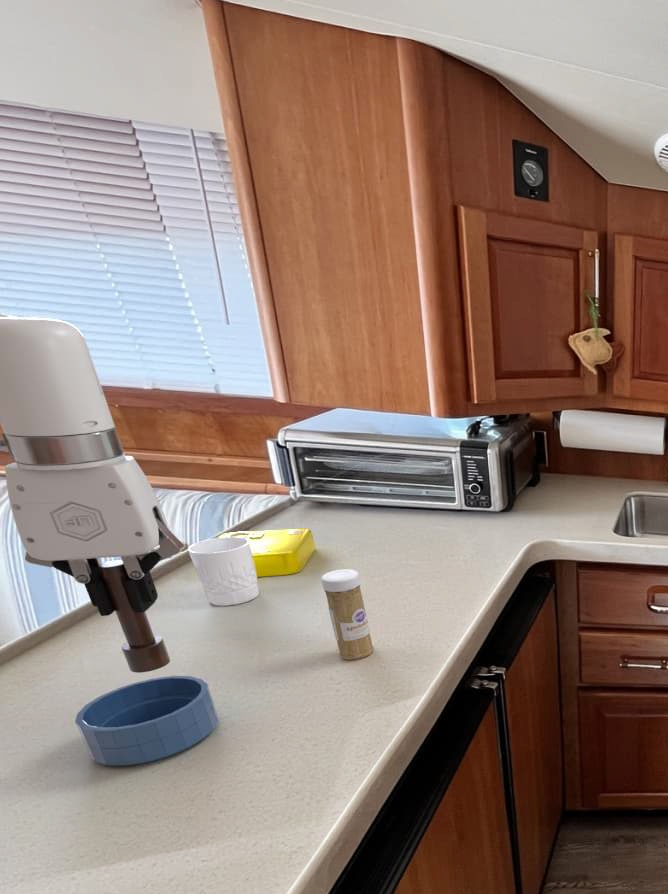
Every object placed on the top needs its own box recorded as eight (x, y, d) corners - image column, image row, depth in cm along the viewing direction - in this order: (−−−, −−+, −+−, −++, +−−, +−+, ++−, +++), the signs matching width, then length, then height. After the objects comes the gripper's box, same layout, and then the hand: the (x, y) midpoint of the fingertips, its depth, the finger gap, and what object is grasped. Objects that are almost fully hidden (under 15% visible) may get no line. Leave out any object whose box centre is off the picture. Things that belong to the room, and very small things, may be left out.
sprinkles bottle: (363, 661, 96) (346, 581, 91) (332, 660, 96) (313, 579, 91) (380, 646, 100) (364, 569, 95) (350, 645, 100) (333, 567, 95)
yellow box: (198, 582, 115) (191, 558, 113) (227, 552, 128) (221, 530, 126) (300, 574, 121) (294, 551, 119) (318, 546, 134) (313, 525, 132)
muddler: (124, 674, 72) (82, 570, 67) (138, 659, 75) (99, 559, 70) (163, 670, 74) (125, 567, 69) (175, 655, 76) (140, 556, 71)
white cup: (239, 585, 115) (224, 534, 111) (275, 592, 114) (261, 540, 110) (192, 603, 108) (174, 549, 104) (230, 610, 107) (214, 556, 103)
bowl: (71, 778, 71) (52, 738, 69) (120, 720, 80) (105, 683, 78) (200, 758, 75) (186, 719, 73) (232, 705, 85) (221, 669, 82)
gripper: (-74, 458, 58) (8, 634, 65) (155, 454, 64) (207, 614, 72) (-19, 441, 64) (51, 603, 71) (185, 439, 71) (230, 587, 78)
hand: (129, 607), depth 71 cm, fingers closed on muddler, 2 cm apart
